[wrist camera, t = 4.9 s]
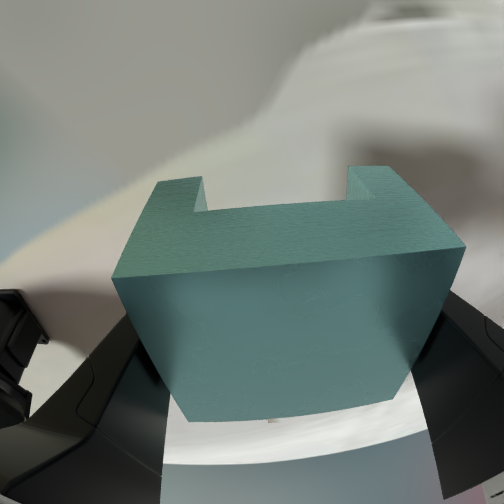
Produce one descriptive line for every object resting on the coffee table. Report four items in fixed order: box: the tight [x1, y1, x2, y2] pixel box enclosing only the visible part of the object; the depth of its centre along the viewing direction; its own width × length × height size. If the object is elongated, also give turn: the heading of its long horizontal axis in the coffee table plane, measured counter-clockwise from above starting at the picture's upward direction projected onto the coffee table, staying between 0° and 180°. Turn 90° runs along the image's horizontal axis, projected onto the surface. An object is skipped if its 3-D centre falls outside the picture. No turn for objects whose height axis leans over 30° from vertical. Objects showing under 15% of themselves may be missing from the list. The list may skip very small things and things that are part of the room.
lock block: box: [111, 166, 466, 422], centre depth 8 cm, size 6×6×4 cm
